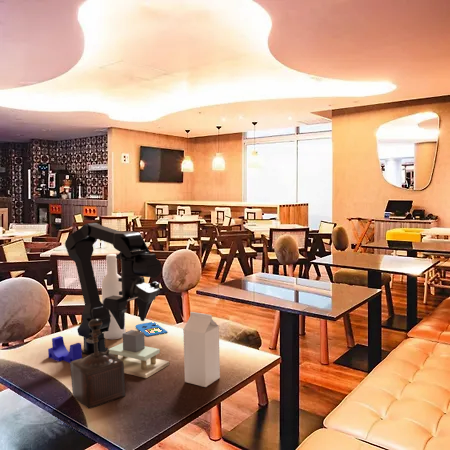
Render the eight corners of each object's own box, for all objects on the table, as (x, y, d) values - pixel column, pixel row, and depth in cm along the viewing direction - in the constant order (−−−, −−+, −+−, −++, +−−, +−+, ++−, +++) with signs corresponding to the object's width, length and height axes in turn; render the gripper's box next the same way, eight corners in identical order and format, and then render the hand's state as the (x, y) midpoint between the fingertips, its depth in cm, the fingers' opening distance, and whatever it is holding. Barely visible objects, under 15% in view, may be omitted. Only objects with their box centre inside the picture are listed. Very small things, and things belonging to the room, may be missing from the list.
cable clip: (48, 357, 146) (47, 339, 145) (61, 353, 149) (60, 336, 149) (69, 366, 138) (68, 347, 138) (82, 362, 142) (81, 343, 141)
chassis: (99, 367, 137) (98, 354, 137) (124, 354, 146) (123, 342, 146) (146, 378, 128) (145, 364, 128) (169, 364, 138) (168, 351, 137)
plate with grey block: (144, 360, 131) (144, 339, 130) (108, 353, 137) (107, 333, 137) (159, 352, 137) (159, 332, 136) (124, 345, 143) (123, 326, 143)
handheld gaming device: (153, 320, 181) (167, 331, 168) (153, 323, 181) (167, 333, 168) (133, 324, 177) (146, 334, 164) (133, 327, 177) (146, 337, 164)
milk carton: (205, 388, 121) (204, 318, 120) (184, 382, 125) (182, 314, 123) (220, 378, 127) (218, 312, 126) (199, 373, 131) (197, 308, 129)
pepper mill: (128, 395, 118) (126, 327, 116) (88, 409, 111) (84, 337, 109) (101, 377, 129) (99, 315, 128) (63, 389, 122) (60, 323, 121)
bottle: (116, 340, 160) (112, 256, 158) (98, 338, 164) (95, 255, 161) (130, 334, 167) (127, 253, 165) (113, 331, 171) (109, 252, 168)
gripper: (130, 282, 124) (132, 338, 125) (171, 271, 140) (172, 320, 142) (100, 279, 130) (102, 332, 131) (143, 268, 146) (144, 315, 147)
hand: (132, 324), depth 137 cm, fingers open, 9 cm apart
